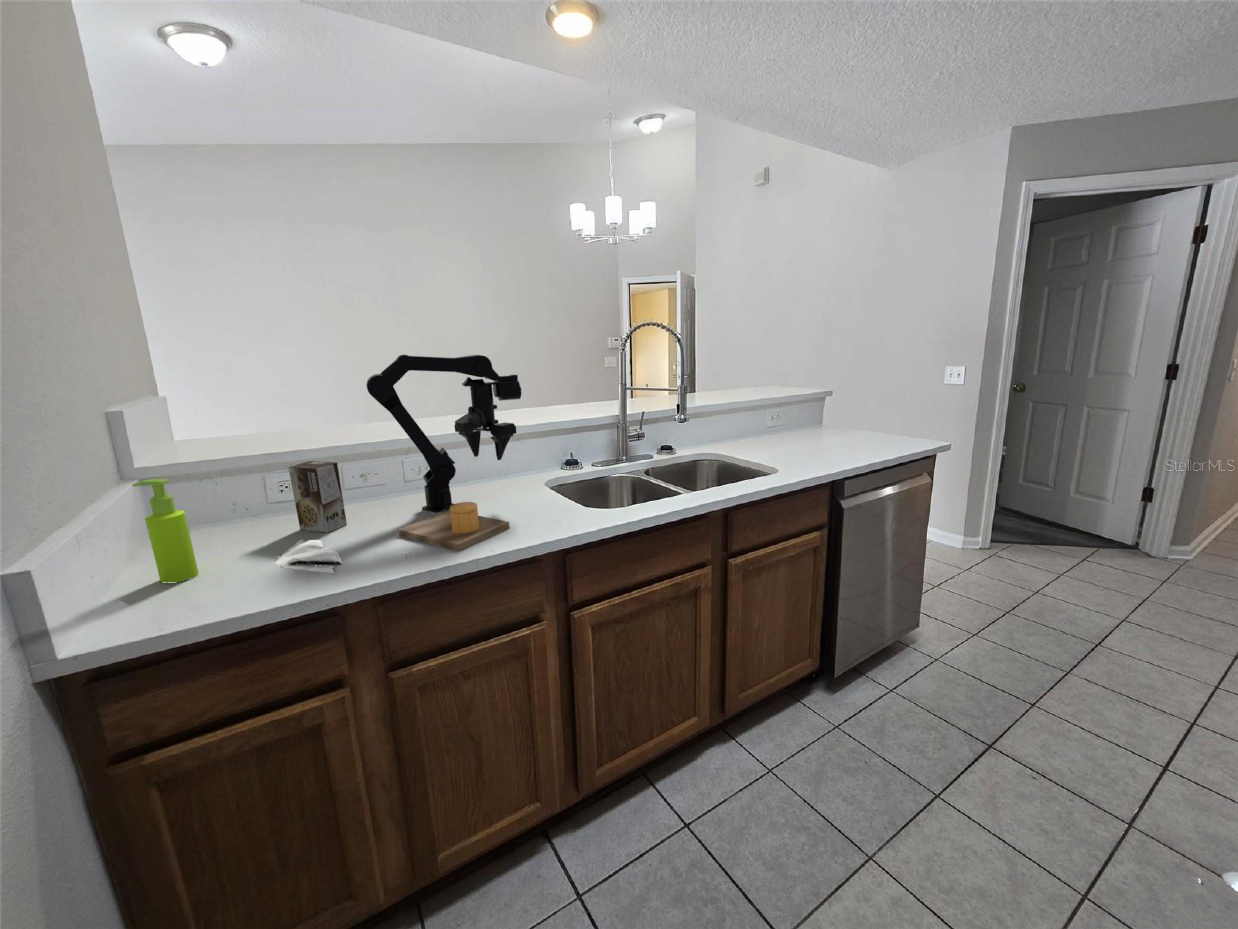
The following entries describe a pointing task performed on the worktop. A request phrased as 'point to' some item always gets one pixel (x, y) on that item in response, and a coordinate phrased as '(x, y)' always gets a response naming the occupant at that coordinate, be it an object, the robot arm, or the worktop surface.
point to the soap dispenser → (169, 536)
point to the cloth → (309, 557)
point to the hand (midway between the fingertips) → (487, 458)
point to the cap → (464, 517)
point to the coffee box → (318, 496)
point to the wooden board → (442, 535)
